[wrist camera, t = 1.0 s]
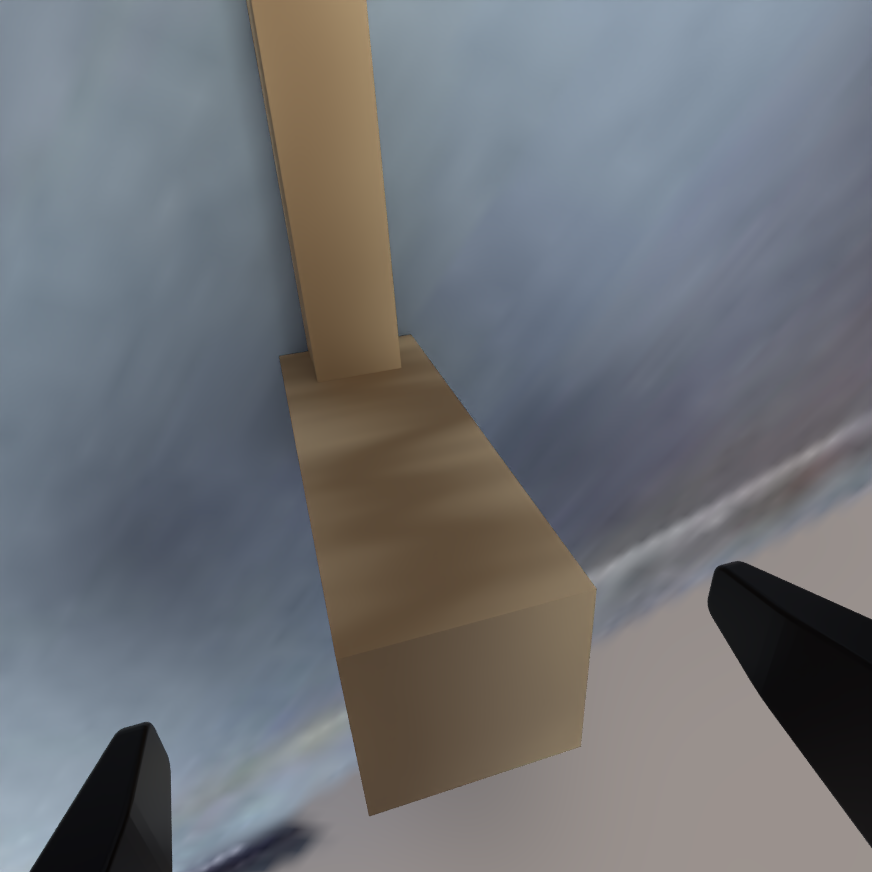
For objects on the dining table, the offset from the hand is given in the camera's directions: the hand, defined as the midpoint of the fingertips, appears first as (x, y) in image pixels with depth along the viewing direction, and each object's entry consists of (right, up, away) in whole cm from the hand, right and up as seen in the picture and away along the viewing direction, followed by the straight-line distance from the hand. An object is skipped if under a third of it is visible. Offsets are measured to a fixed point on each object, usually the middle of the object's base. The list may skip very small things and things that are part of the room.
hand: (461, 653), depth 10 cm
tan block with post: (-3, +9, +5) cm, 11 cm away
